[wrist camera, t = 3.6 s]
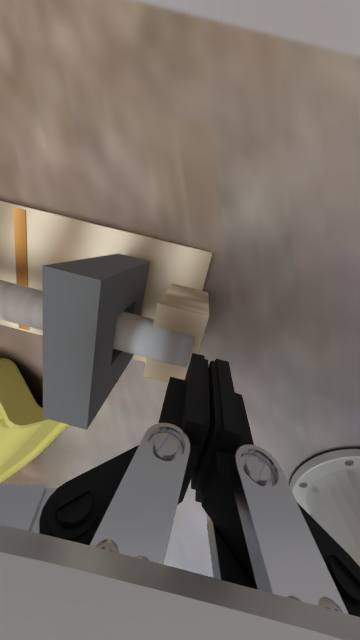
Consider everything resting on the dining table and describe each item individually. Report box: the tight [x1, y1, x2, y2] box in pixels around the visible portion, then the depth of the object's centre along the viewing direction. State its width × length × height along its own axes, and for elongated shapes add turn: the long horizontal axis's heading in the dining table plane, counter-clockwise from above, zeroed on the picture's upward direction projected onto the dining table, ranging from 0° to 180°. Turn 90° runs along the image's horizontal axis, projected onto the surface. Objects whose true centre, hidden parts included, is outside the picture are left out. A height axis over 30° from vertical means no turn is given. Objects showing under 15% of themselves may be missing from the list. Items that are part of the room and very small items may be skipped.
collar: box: [42, 253, 150, 430], centre depth 14 cm, size 2×8×8 cm, turn 167°
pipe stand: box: [0, 200, 213, 383], centre depth 17 cm, size 24×11×8 cm, turn 77°
